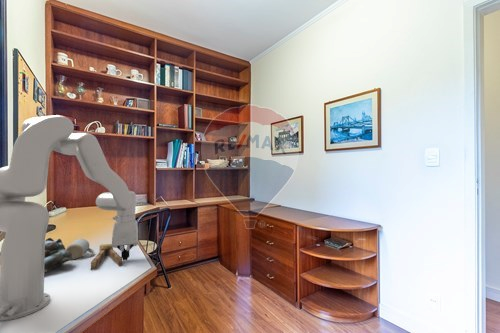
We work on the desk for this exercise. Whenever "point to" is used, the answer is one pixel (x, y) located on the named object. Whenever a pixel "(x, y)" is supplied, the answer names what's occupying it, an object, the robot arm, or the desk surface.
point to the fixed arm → (98, 259)
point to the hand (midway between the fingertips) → (125, 259)
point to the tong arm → (115, 257)
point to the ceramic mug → (79, 248)
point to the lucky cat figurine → (55, 254)
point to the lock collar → (105, 246)
